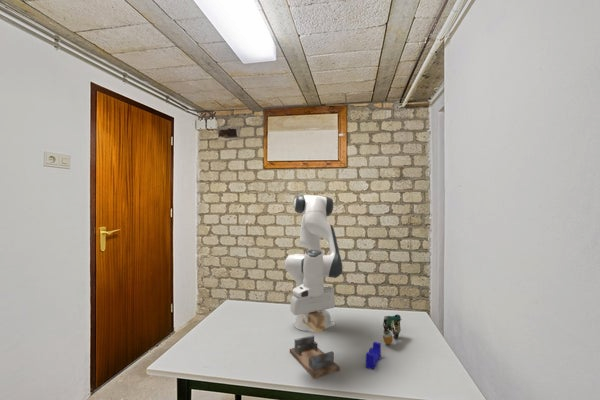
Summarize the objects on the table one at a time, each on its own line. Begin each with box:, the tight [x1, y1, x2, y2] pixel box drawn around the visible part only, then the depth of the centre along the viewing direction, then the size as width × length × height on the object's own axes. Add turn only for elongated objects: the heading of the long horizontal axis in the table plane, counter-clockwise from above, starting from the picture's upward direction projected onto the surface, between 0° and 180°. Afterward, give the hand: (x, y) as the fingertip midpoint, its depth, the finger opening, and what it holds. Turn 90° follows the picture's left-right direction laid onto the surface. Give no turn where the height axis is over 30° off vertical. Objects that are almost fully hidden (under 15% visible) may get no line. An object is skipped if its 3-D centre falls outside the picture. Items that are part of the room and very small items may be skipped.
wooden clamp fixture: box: [289, 334, 341, 379], centre depth 128 cm, size 12×22×6 cm, turn 27°
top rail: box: [303, 311, 326, 334], centre depth 128 cm, size 4×12×6 cm, turn 27°
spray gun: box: [382, 314, 402, 345], centre depth 145 cm, size 4×17×15 cm, turn 137°
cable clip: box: [365, 341, 382, 370], centre depth 128 cm, size 12×4×6 cm, turn 151°
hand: (313, 321), depth 128 cm, fingers closed on top rail, 4 cm apart
